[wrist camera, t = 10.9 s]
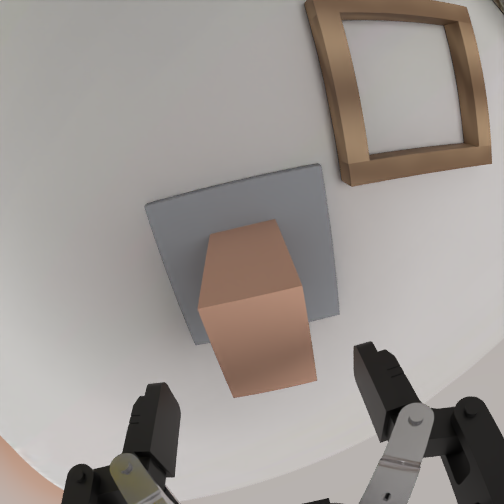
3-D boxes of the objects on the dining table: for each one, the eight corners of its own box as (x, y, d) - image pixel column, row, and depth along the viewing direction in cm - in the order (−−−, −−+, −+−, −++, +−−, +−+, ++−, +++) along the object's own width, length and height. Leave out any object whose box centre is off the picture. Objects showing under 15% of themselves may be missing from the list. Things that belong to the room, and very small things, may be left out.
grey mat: (147, 203, 21) (144, 206, 20) (318, 163, 21) (321, 165, 20) (196, 339, 26) (195, 345, 25) (336, 308, 26) (339, 314, 25)
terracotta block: (209, 234, 22) (197, 308, 13) (275, 218, 21) (302, 285, 13) (231, 306, 24) (233, 397, 16) (290, 293, 24) (317, 380, 16)
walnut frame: (304, 3, 16) (310, -7, 14) (452, 11, 16) (466, 7, 14) (341, 180, 21) (351, 186, 20) (476, 159, 21) (491, 163, 19)
